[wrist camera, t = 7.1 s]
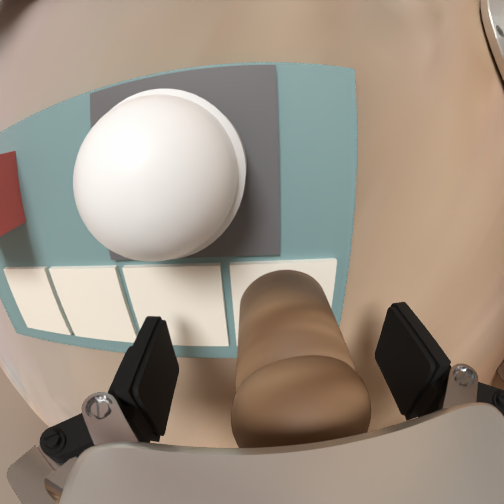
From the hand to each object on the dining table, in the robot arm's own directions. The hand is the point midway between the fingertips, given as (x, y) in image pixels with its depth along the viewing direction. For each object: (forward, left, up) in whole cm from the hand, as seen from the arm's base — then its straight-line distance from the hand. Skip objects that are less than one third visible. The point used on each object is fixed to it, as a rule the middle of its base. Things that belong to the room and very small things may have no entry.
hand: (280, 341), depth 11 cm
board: (+8, -4, -4) cm, 10 cm away
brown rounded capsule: (0, 0, -2) cm, 2 cm away
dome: (+4, -7, -2) cm, 8 cm away
